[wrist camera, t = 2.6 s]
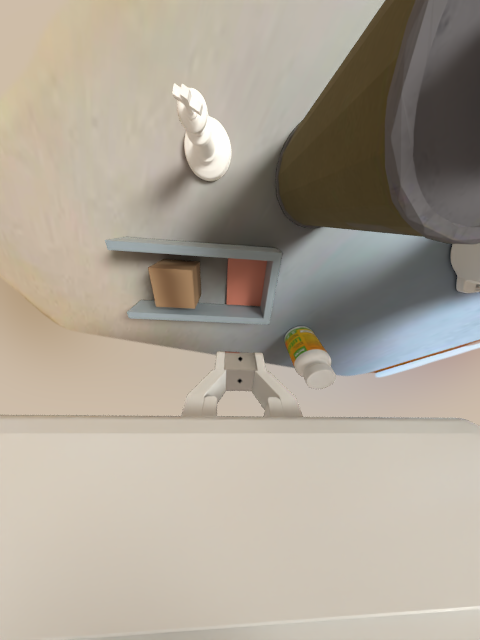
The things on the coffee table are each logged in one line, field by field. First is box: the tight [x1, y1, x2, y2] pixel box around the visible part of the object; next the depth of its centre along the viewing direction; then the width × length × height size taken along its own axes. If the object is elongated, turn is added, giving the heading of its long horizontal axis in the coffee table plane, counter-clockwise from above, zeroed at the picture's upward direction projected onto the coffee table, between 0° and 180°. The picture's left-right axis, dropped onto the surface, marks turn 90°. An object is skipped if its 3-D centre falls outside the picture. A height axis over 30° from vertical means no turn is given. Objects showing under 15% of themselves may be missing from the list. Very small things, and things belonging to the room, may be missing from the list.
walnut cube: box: [148, 259, 201, 309], centre depth 23 cm, size 5×5×5 cm
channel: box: [105, 237, 283, 325], centre depth 23 cm, size 20×10×4 cm, turn 86°
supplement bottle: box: [284, 326, 336, 389], centre depth 27 cm, size 5×5×10 cm
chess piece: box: [172, 83, 231, 181], centre depth 14 cm, size 5×5×10 cm
